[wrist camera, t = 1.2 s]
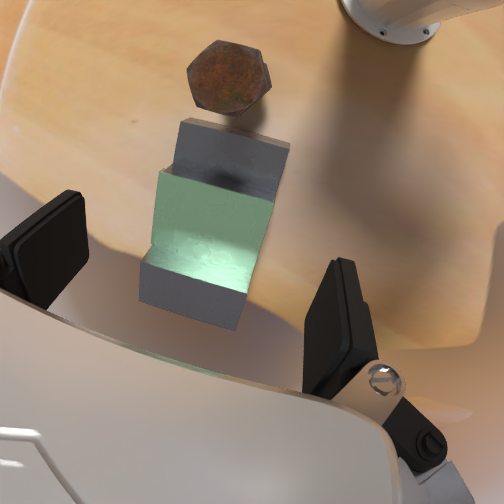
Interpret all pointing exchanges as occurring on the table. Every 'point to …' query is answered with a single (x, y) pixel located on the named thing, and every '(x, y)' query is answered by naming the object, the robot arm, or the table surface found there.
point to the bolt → (228, 78)
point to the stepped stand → (210, 221)
